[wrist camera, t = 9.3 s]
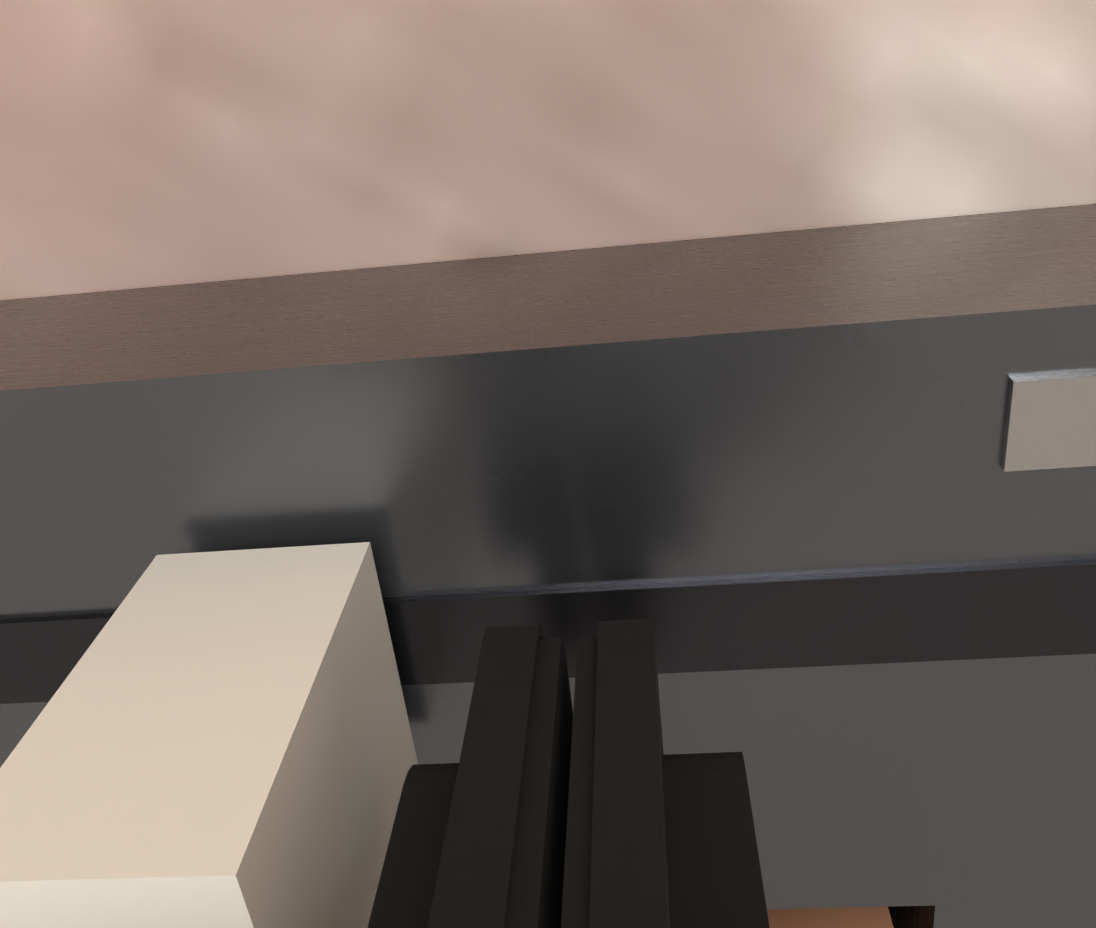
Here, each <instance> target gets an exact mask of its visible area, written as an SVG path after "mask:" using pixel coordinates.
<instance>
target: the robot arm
mask: <svg viewBox="0 0 1096 928" xmlns="http://www.w3.org/2000/svg"><path fill="white" fill-rule="evenodd" d="M367 928H770V927H769V920H768V914H767V907H766V901H765V894H764V887H763V881H762V874H761V867H760V861H759V854H758V848H757V841H756V834H755V828H754V821H753V814H752V808H751V801H750V795H749V788H748V781H747V775H746V769H745V763H744V757H743V754H742V752H720V753H695V754H669V755H664V752H663V739H662V726H661V713H660V700H659V687H658V673H657V660H656V647H655V634H654V622H653V618H651V619H632V620H613V621H599V623H598V636H589V637H578V641H577V656H576V674H575V691H574V708H572V700H571V692H570V684H569V676H568V668H567V660H566V652H565V645H564V641H563V638H552V639H545V638H544V632H543V629H542V626H541V625H540V624H539V625H520V626H501V627H487V628H486V629H485V632H484V636H483V641H482V646H481V651H480V656H479V662H478V667H477V672H476V677H475V682H474V688H473V693H472V698H471V703H470V709H469V714H468V719H467V724H466V729H465V735H464V740H463V745H462V750H461V756H460V761H459V763H441V764H416V765H412V766H411V768H410V769H409V770H408V772H407V775H406V778H405V781H404V784H403V788H402V792H401V796H400V800H399V804H398V808H397V812H396V816H395V820H394V824H393V828H392V832H391V836H390V840H389V844H388V848H387V852H386V856H385V860H384V864H383V868H382V872H381V876H380V880H379V884H378V888H377V891H376V895H375V899H374V903H373V907H372V911H371V915H370V919H369V923H368V927H367Z"/></svg>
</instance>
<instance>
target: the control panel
mask: <svg viewBox="0 0 1096 928" xmlns="http://www.w3.org/2000/svg"><path fill="white" fill-rule="evenodd" d="M362 542H370V544H371V549H372V553H373V558H374V563H375V567H376V572H377V576H378V581H379V586H380V590H381V595H382V600H383V604H384V609H385V613H386V618H387V623H388V627H389V632H390V637H391V641H392V646H393V650H394V655H395V660H396V664H397V669H398V674H399V678H400V683H401V687H402V692H403V697H404V701H405V706H406V711H407V715H408V720H409V724H410V729H411V734H412V738H413V743H414V748H415V752H416V757H417V761H418V764H441V763H459V761H460V756H461V750H462V745H463V740H464V735H465V729H466V724H467V719H468V714H469V709H470V703H471V698H472V693H473V688H474V682H475V677H476V672H477V667H478V662H479V656H480V651H481V646H482V641H483V636H484V632H485V629H486V628H487V627H501V626H520V625H539V624H540V625H541V626H542V629H543V632H544V638H545V639H552V638H563V641H564V645H565V652H566V660H567V668H568V676H569V684H570V692H571V700H572V708H574V691H575V674H576V656H577V641H578V637H589V636H598V623H599V621H613V620H632V619H651V618H653V622H654V634H655V647H656V660H657V673H658V687H659V700H660V713H661V726H662V739H663V752H664V755H669V754H695V753H720V752H742V754H743V757H744V763H745V769H746V775H747V781H748V788H749V795H750V801H751V808H752V814H753V821H754V828H755V834H756V841H757V848H758V854H759V861H760V867H761V874H762V881H763V887H764V894H765V901H766V907H767V909H802V908H846V907H888V909H889V913H890V916H891V920H892V924H893V927H894V928H1096V204H1091V205H1080V206H1069V207H1057V208H1046V209H1035V210H1023V211H1012V212H1001V213H989V214H978V215H967V216H955V217H944V218H933V219H921V220H910V221H899V222H887V223H876V224H865V225H853V226H842V227H831V228H819V229H808V230H797V231H785V232H774V233H763V234H751V235H740V236H729V237H717V238H706V239H695V240H683V241H672V242H661V243H649V244H638V245H627V246H615V247H604V248H593V249H581V250H570V251H559V252H547V253H536V254H525V255H513V256H502V257H491V258H479V259H468V260H457V261H445V262H434V263H423V264H411V265H400V266H389V267H377V268H366V269H355V270H343V271H332V272H321V273H309V274H298V275H287V276H276V277H264V278H253V279H242V280H230V281H219V282H208V283H196V284H185V285H174V286H162V287H151V288H140V289H128V290H117V291H106V292H94V293H83V294H72V295H60V296H49V297H38V298H26V299H15V300H4V301H0V768H1V766H2V765H3V764H4V762H5V761H6V759H7V758H8V757H9V755H10V754H11V753H12V751H13V750H14V749H15V747H16V746H17V745H18V743H19V742H20V740H21V739H22V738H23V736H24V735H25V734H26V732H27V731H28V730H29V728H30V727H31V725H32V724H33V723H34V721H35V720H36V719H37V717H38V716H39V715H40V713H41V712H42V711H43V709H44V708H45V706H46V705H47V704H48V702H49V701H50V700H51V698H52V697H53V696H54V694H55V693H56V691H57V690H58V689H59V687H60V686H61V685H62V683H63V682H64V681H65V679H66V678H67V676H68V675H69V674H70V672H71V671H72V670H73V668H74V667H75V666H76V664H77V663H78V662H79V660H80V659H81V657H82V656H83V655H84V653H85V652H86V651H87V649H88V648H89V647H90V645H91V644H92V642H93V641H94V640H95V638H96V637H97V636H98V634H99V633H100V632H101V630H102V629H103V628H104V626H105V625H106V623H107V622H108V621H109V619H110V618H111V617H112V615H113V614H114V613H115V611H116V610H117V608H118V607H119V606H120V604H121V603H122V602H123V600H124V599H125V598H126V596H127V595H128V594H129V592H130V591H131V589H132V588H133V587H134V585H135V584H136V583H137V581H138V580H139V579H140V577H141V576H142V574H143V573H144V572H145V570H146V569H147V568H148V566H149V565H150V564H151V562H152V561H153V560H154V558H155V557H156V555H163V554H180V553H196V552H213V551H230V550H246V549H263V548H279V547H296V546H312V545H329V544H345V543H362Z"/></svg>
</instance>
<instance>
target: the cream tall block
mask: <svg viewBox="0 0 1096 928" xmlns="http://www.w3.org/2000/svg"><path fill="white" fill-rule="evenodd" d="M416 764H418V761H417V757H416V752H415V748H414V743H413V738H412V734H411V729H410V724H409V720H408V715H407V711H406V706H405V701H404V697H403V692H402V687H401V683H400V678H399V674H398V669H397V664H396V660H395V655H394V650H393V646H392V641H391V637H390V632H389V627H388V623H387V618H386V613H385V609H384V604H383V600H382V595H381V590H380V586H379V581H378V576H377V572H376V567H375V563H374V558H373V553H372V549H371V544H370V542H362V543H345V544H329V545H312V546H296V547H279V548H263V549H246V550H230V551H213V552H196V553H180V554H163V555H156V557H155V558H154V560H153V561H152V562H151V564H150V565H149V566H148V568H147V569H146V570H145V572H144V573H143V574H142V576H141V577H140V579H139V580H138V581H137V583H136V584H135V585H134V587H133V588H132V589H131V591H130V592H129V594H128V595H127V596H126V598H125V599H124V600H123V602H122V603H121V604H120V606H119V607H118V608H117V610H116V611H115V613H114V614H113V615H112V617H111V618H110V619H109V621H108V622H107V623H106V625H105V626H104V628H103V629H102V630H101V632H100V633H99V634H98V636H97V637H96V638H95V640H94V641H93V642H92V644H91V645H90V647H89V648H88V649H87V651H86V652H85V653H84V655H83V656H82V657H81V659H80V660H79V662H78V663H77V664H76V666H75V667H74V668H73V670H72V671H71V672H70V674H69V675H68V676H67V678H66V679H65V681H64V682H63V683H62V685H61V686H60V687H59V689H58V690H57V691H56V693H55V694H54V696H53V697H52V698H51V700H50V701H49V702H48V704H47V705H46V706H45V708H44V709H43V711H42V712H41V713H40V715H39V716H38V717H37V719H36V720H35V721H34V723H33V724H32V725H31V727H30V728H29V730H28V731H27V732H26V734H25V735H24V736H23V738H22V739H21V740H20V742H19V743H18V745H17V746H16V747H15V749H14V750H13V751H12V753H11V754H10V755H9V757H8V758H7V759H6V761H5V762H4V764H3V765H2V766H1V768H0V928H367V927H368V923H369V919H370V915H371V911H372V907H373V903H374V899H375V895H376V891H377V888H378V884H379V880H380V876H381V872H382V868H383V864H384V860H385V856H386V852H387V848H388V844H389V840H390V836H391V832H392V828H393V824H394V820H395V816H396V812H397V808H398V804H399V800H400V796H401V792H402V788H403V784H404V781H405V778H406V775H407V772H408V770H409V769H410V768H411V766H412V765H416Z"/></svg>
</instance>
